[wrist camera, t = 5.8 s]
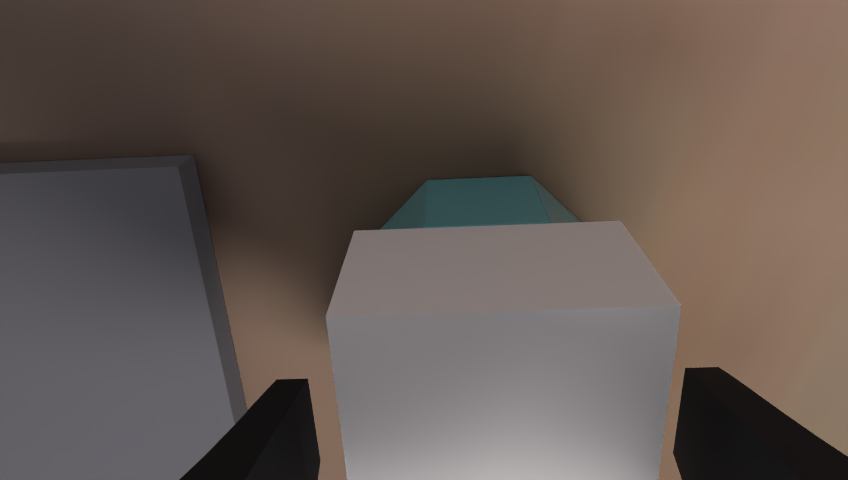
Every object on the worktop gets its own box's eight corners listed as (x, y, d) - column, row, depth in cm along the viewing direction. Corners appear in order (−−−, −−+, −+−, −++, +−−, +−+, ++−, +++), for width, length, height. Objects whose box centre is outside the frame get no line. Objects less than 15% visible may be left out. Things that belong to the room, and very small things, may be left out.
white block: (602, 432, 15) (647, 558, 11) (375, 437, 15) (358, 562, 12) (620, 220, 12) (681, 305, 9) (354, 230, 13) (325, 317, 9)
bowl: (591, 380, 18) (619, 457, 15) (374, 386, 18) (362, 462, 15) (605, 172, 15) (643, 217, 12) (353, 182, 15) (335, 229, 13)
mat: (268, 512, 20) (260, 538, 19) (-87, 518, 20) (-112, 544, 20) (193, 154, 15) (177, 166, 14) (-269, 174, 16) (-312, 187, 15)
